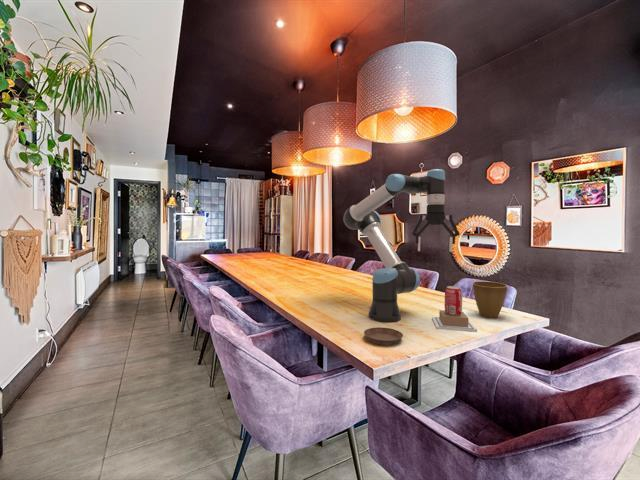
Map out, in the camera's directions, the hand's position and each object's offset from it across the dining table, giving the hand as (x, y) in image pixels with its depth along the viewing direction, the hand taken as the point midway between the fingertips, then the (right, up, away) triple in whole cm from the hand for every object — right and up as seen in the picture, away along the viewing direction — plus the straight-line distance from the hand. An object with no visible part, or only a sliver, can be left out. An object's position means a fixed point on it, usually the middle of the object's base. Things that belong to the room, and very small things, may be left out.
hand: (434, 251), depth 134 cm
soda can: (+7, -28, -3) cm, 29 cm away
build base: (+7, -33, -3) cm, 34 cm away
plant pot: (+31, -33, +11) cm, 46 cm away
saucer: (-28, -34, -20) cm, 48 cm away
